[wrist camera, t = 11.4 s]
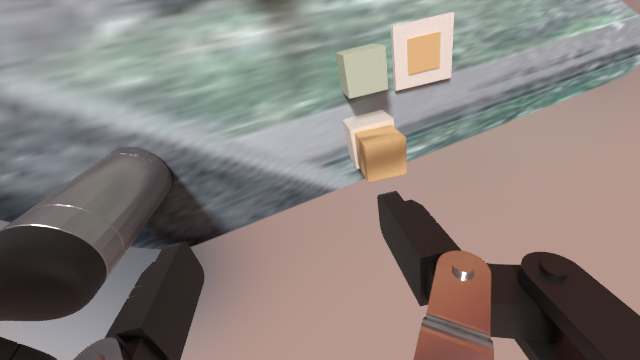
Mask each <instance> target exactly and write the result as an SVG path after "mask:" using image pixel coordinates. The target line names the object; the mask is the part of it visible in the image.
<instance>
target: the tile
mask: <svg viewBox="0 0 640 360" xmlns="http://www.w3.org/2000/svg"><path fill="white" fill-rule="evenodd" d="M453 23H454V12H450V13H445V14H441V15H437V16H433V17H429V18H425V19H421V20H416V21H412V22H408V23H404V24H400V25H396V26H392V27H390V30H391V47H392V64H393V81H394V90H395V91H398V90H402V89H406V88H410V87H414V86H418V85H422V84H427V83H431V82H435V81H439V80H443V79H447V78H451V65H452V44H453Z"/></svg>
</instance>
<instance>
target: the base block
mask: <svg viewBox="0 0 640 360" xmlns="http://www.w3.org/2000/svg"><path fill="white" fill-rule="evenodd" d="M343 125H344V130H345V135H346V140H347V146H348V151H349V156H350V157H351V159H352V161H353V163H354V165H355V167H356V168H357V169H359V168H360V167H359V166H358V158H357V150H356V141H355V132H359V131H364V130H369V129H373V128H378V127H383V126H388V125H392V126H393V127H394V119H393V118H392V117H391V116H390V115H388V114H387V113H386V112H384V111H383V110H382V109H381V110H377V111H373V112H370V113H366V114H362V115H358V116H355V117H351V118H347V119H343Z"/></svg>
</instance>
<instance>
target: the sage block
mask: <svg viewBox="0 0 640 360" xmlns="http://www.w3.org/2000/svg"><path fill="white" fill-rule="evenodd" d="M336 59H337V65H338V71H339V77H340V83H341V89H342V92H343V93H344V94H345V95H346V96H347V97H348V98H349V99H351V98H355V97H359V96H363V95H367V94H371V93H375V92H379V91H383V90H387V89H388V77H387V64H386V50H385V45H379V44H369V45H365V46H361V47H357V48H353V49H349V50H345V51H341V52H337V53H336Z"/></svg>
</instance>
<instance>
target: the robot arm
mask: <svg viewBox="0 0 640 360" xmlns="http://www.w3.org/2000/svg"><path fill="white" fill-rule="evenodd" d="M171 186H172V177H171V173H170V171H169V169H168V167H167V166H166V165H165V164H164V162H163V161H161V160H160V159H159V158H158V157H156V156H155V155H153V154H152V153H149V152H147V151H144V150H141V149H137V148H123V149H119V150H116V151H114V152H112V153H111V154H109V155H108V156H106V157H105V158H104V159H102V160H101V161H99V162H98V163H96V164H95V165H93V166H92V167H90V168H89V169H87V170H86V171H84V172H83V173H82V174H80V175H79V176H77V177H76V178H74V179H73V180H72V181H70V182H69V183H67V184H66V185H64V186H63V187H62V188H60V189H59V190H57V191H56V192H54V193H53V194H51V195H50V196H49V197H47V198H46V199H44V200H43V201H41V202H40V203H39V204H37V205H36V206H34V207H33V208H31V209H30V210H28V211H27V212H26V213H24V214H23V215H22V216H20V217H19V218H17V219H16V220H14V221H13V222H12V223H10V224H9V225H7V226H6V227H4V228H3V229H2V230H0V321H5V320H6V321H44V320H52V319H58V318H61V317H65V316H68V315H71V314H73V313H75V312H77V311H79V310H80V309H82V308H83V307H84V306H85V305H87V304H88V303H89V302H90V300H91V299H92V298H93V297H94V296H95V294H96V293H97V292H98V290H99V289H100V288H101V286H102V285H103V283H104V282H105V280H106V279H107V278H108V276H109V275H110V273H111V272H112V271H113V269H114V268H115V266H116V265H117V264H118V262H119V261H120V259H121V258H122V256H123V255H124V254H125V252H126V251H127V250H128V248H129V247H130V245H131V244H132V243H133V241H134V240H135V238H136V237H137V236H138V234H139V233H140V231H141V230H142V229H143V227H144V226H145V225H146V223H147V222H148V220H149V219H150V218H151V216H152V215H153V213H154V212H155V211H156V209H157V208H158V207H159V205H160V204H161V202H162V201H163V200H164V198H165V197H166V196H167V194H168V193H169V191H170V189H171ZM377 199H378V209H379V220H380V227H381V231H382V234H383V237H384V239H385V240H386V243H387V245H388V246H389V248H390V250H391V252H392V254H393V256H394V258H395V260H396V262H397V263H398V265H399V267H400V269H401V271H402V273H403V275H404V277H405V279H406V280H407V282H408V284H409V286H410V288H411V290H412V291H413V293H414V295H415V297H416V299H417V301H418V303H419V305H420V306H424V305H428V309H427V313H426V317H424V318H423V321H422V324H421V329H420V333H419V337H418V342H417V346H416V351H415V356H414V360H494V351H493V350H494V349H493V342H492V341H491V338H490V337H500V338H511V339H515V341H516V342H517V344H518V345H519V346H520V348H521V349H522V350H523V352H524V353H525V355H526V356H527V357H528V359H529V360H640V316H639V315H638V314H637V313H636V312H634V311H633V310H632V309H631V308H629V307H628V306H627V305H626V304H625V303H623V302H622V301H621V300H620V299H618V298H617V297H616V296H615V295H614V294H612V293H611V292H610V291H609V290H608V289H606V288H605V287H604V286H603V285H601V284H600V283H599V282H598V281H597V280H595V279H594V278H593V277H592V276H591V275H589V274H588V273H587V272H585V271H584V270H583V269H582V268H581V267H580V266H578V265H577V264H576V263H574V262H572V261H571V260H569V259H567V258H565V257H562V256H560V255H556V254H553V253H548V252H533V253H529V254H527V255H526V256H524V258H523V259H522V262H521V265H502V264H501V265H500V264H488V263H485V261H483V260H482V259H481V258H479V257H478V256H476V255H474V254H472V253H469V252H465V251H461V249H460V248H459V247H458V246H457V245H456V244H455V243H454V241H453V240H452V239H451V238H450V237H449V235H448V234H447V233H446V232H445V231H444V230H443V229H442V227H441V226H440V225H439V224H438V223H436V220H435V219H434V218H433V217H432V216H430V213H429V212H428V211H427V210H426V209H425V208H424V207H423V206H422V205H421V204H419V203H417V202H415V201H413V200H408V201H404V200H403V199H402V197H401V196H400V195H399V194H398V193H397V191H394V192H389V193H385V194H381V195H378V197H377ZM203 283H204V271H203V268H202V266H201V264H200V263H199V261H198V260H197V258H196V256H195V255H194V253H193V252H192V250H191V248H190V246H189V245H188V244H187V243H186V242H181V243H177V244H173V245H168V246H165V247H163V248H162V250H161V252H160V254H159V255H158V258H157V259H156V261H155V262H153V263H152V264H151V265H150V266H149V267H148V268H147V269H146V270H145V271H144V272H143V273H142V274H141V276H140V278H139V279H138V281H137V283H136V284H135V288H134V289H133V290H132V291H131V293H130V295H129V299H127V300H126V302H125V303H124V305H123V307H122V309H121V310H120V312H119V314H118V316H117V317H116V319H115V321H114V323H113V324H112V326H111V328H110V329H109V331H108V333H107V335H106V337H105V338H104V339H101V340H99V341H96V342H95V343H93V344H91V345H90V346H88V347H87V348H85V349H84V350H83V351H82V352H81V353H79V354H78V356H76V357H75V358H74V360H180V359H181V355H182V352H183V349H184V346H185V343H186V339H187V336H188V332H189V329H190V326H191V323H192V319H193V316H194V313H195V309H196V306H197V303H198V299H199V296H200V293H201V290H202V286H203ZM0 360H57V359H56V358H54V357H52V356H51V355H49V354H46V353H44V352H41V351H39V350H36V349H33V348H31V347H28V346H25V345H22V344H17V342H13V341H11V340H8V339H5V338H2V337H0Z"/></svg>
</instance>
